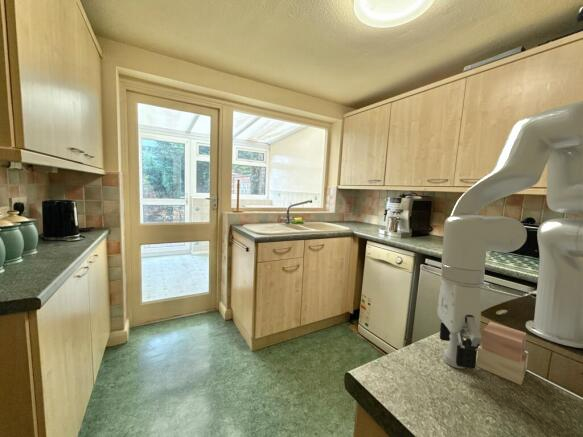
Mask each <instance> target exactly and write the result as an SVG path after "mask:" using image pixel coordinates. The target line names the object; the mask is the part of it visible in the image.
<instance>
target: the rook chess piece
mask: <svg viewBox="0 0 583 437" xmlns="http://www.w3.org/2000/svg"><path fill="white" fill-rule="evenodd" d="M448 330H449V329H448ZM461 330H462V331H466V329H461ZM449 331H450V330H449ZM450 333H451V334H450V335H449V337H450V341H448V346H447V347H446V349H445V350H444V351H443V356H442V358H443V361H444V362H445V363H446V364H447V365H449V366H450V367H452V368H456V369H460V370H464V369H466V368H465V367H459V366H457V364H456V353H457V345H459V340H458V334H457V333H456V332H455V333H452V332H451V331H450ZM463 338H464V341H465V340H466V339H465V335H463Z"/></svg>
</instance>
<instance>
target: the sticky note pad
mask: <svg viewBox="0 0 583 437" xmlns="http://www.w3.org/2000/svg"><path fill="white" fill-rule="evenodd" d="M526 340H527V332H524V331H521V330H519V329H515V328H511V327H508V326H505V325H502V324H499V323H495V322H492V321H489V322H488V324H487V325H486V326H485V327H484V328H483V330H482V337H481V343H480V345H479V347H478V351H477V355H476V367H478V368H480V369H483V370H485V371H487V372H489V373H492V374H494V375H496V376H497V377H501V378H503V379H505V380H507V381H510V382H513V383H515V384H517V385H520V386H522V384H523V382H522V381H524V379H525V376H526V373H525V372H527V370H528V368H527V367H528V360H529V359H528V358H529V351H527V350H526V342H527V341H526ZM524 375H525V376H524ZM523 378H524V379H523Z"/></svg>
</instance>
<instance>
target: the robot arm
mask: <svg viewBox="0 0 583 437" xmlns="http://www.w3.org/2000/svg"><path fill="white" fill-rule="evenodd" d="M546 166H547V167H546ZM545 168H547V173H546V174H547V175H546V205H547V207H548V208H549V210H551V211H553V212H555V213H560V214H574V215H575V214H577V215H583V100H580V101H577V102H574V103H573V102H572V103H570V104H565V105H562V106H558V107H557V106H556V107H553V108H550V109H546V110H544V111H541V112H539V113H534V114H532V115H527V116H526V117H523V118H521V119H520V120H518V121H517V122H516V123H514V125H512V127H511V128H510V131H509V133H508V135H507V137H506V139H505V141H504V143H503V146H502V147H501V150H500V153H499V155H498V157H497V159H496V161H495V164H494V166H493V168H492V170H491V172H489V173H488V174H487V175H485V176H484V177H482V178H481V179H479V180H478V181H477V182H475V183H474V184H473V185H472V186H471V187H470V188H468V189H467V190H466V191H465V192H463V194H462V195H461V196H460V197H459V198H458V199H457V201H456V203H455V205H454V207H453V209H452V212H451V214H450V215H449V217H447V218H446V219H445V221H444V225H443V239H442V252H441V254H442V255H441V266H440V280H441V283H440V288H439V292H438V293H439V294H438V302H437V303H438V304H437V310H436V311H437V313H436V314H437V316H438V317H439V319H440V325H439V326H440V330H439V331H440V332H439V339H440V340H441V341H445V342H450V337H449V335H450V334H451V333H450V331H451V332H452V333H455V332H456V333H457V334H458V340H459V345H457V353H456V364H457V366H459V367H465V368H464V369H472V370H474V369H476V367H477V355H478V348H479V346H480V345H481V341H482V334H481V332H480V329H481V319H482V318H481V317H482V293H481V287H483V286H484V285H485V284H484V282H485V272H486V261H487V260H486V259H487V258H486V257H487V252H488V251H493V252H498V253H511V252H515V251H517V250H519V249H520V248H522V246H523V245H524V244H525V243H526V241H527V237H528V234H527V233H528V232H527V229H526V227H525V225H524V224H523V223H522V222H521V221H520V220H518V219H515V218H513V217H509V216H503V215H502V216H501V215H500V216H498V215H497V216H496V215H489V214H488V215H487V214H486V215H483V214H479V213H480V212H481V211H482V210H483V209H484V208H485V207H487V206H488V205H490V204H492V203H494V202H495V201H497V200H500V199H502V198H505V197H506V198H507V197H508V196H511V195H515V194H517V193H519V192H523V191H525V190H528V189H531V188H532V187H534V186H535V185H537V184H538V183H539V182H540V180H541V178H542V175H543V173H544V170H545ZM536 232H537V234H536V236H537V238H536V239H537V244H538V252H539V253H538V254H539V264H538V265H539V266H538V276H537V288H536V297H535V307H534V308H535V309H534V318H533V320H528V321H526V322H525V328H526V329H527V330H528V331H529V332H531V333H533V334H534V335H536V336H538V337H540V338H542V339H544V340H547V341H549V342H552V343H556V344H558V345H563V346H567V347H572V348H578V349H583V259H582V258H583V218H569V217H568V218H567V217H566V218H564V217H563V218H560V217H559V218H551V219H548V220H545V221H543V222H542V223H541V224H540V225H539V226H538V228H537V231H536ZM448 329H449V330H450V331H449V330H448ZM461 329H465V331H462V330H461ZM463 335H465V336H466V337H468V338H466V339H465V336H464V338H463ZM464 340H465V341H464Z"/></svg>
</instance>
